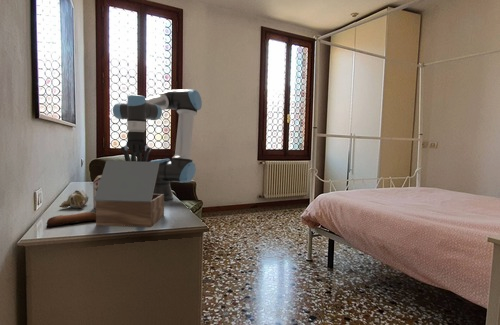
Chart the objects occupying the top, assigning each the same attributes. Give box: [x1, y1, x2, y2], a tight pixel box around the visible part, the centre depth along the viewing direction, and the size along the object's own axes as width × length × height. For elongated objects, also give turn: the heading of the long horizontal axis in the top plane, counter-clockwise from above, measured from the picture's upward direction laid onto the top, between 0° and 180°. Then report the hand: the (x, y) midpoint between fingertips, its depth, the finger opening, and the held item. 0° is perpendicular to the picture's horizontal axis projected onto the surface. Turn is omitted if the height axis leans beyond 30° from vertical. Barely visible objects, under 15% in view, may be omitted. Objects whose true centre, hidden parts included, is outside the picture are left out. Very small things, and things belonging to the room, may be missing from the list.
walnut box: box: [95, 194, 165, 228], centre depth 129 cm, size 18×22×10 cm
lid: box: [94, 160, 159, 202], centre depth 124 cm, size 18×22×1 cm
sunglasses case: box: [46, 211, 96, 229], centre depth 124 cm, size 18×7×7 cm
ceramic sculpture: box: [59, 190, 89, 209], centre depth 150 cm, size 11×9×15 cm
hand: (136, 184), depth 133 cm, fingers closed
